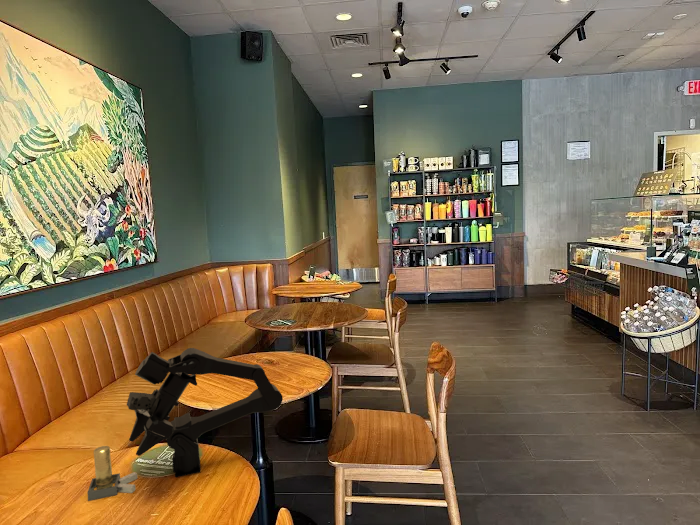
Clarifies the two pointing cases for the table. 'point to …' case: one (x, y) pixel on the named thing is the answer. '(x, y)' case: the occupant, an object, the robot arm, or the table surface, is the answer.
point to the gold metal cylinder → (103, 467)
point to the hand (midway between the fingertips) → (134, 447)
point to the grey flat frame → (111, 491)
